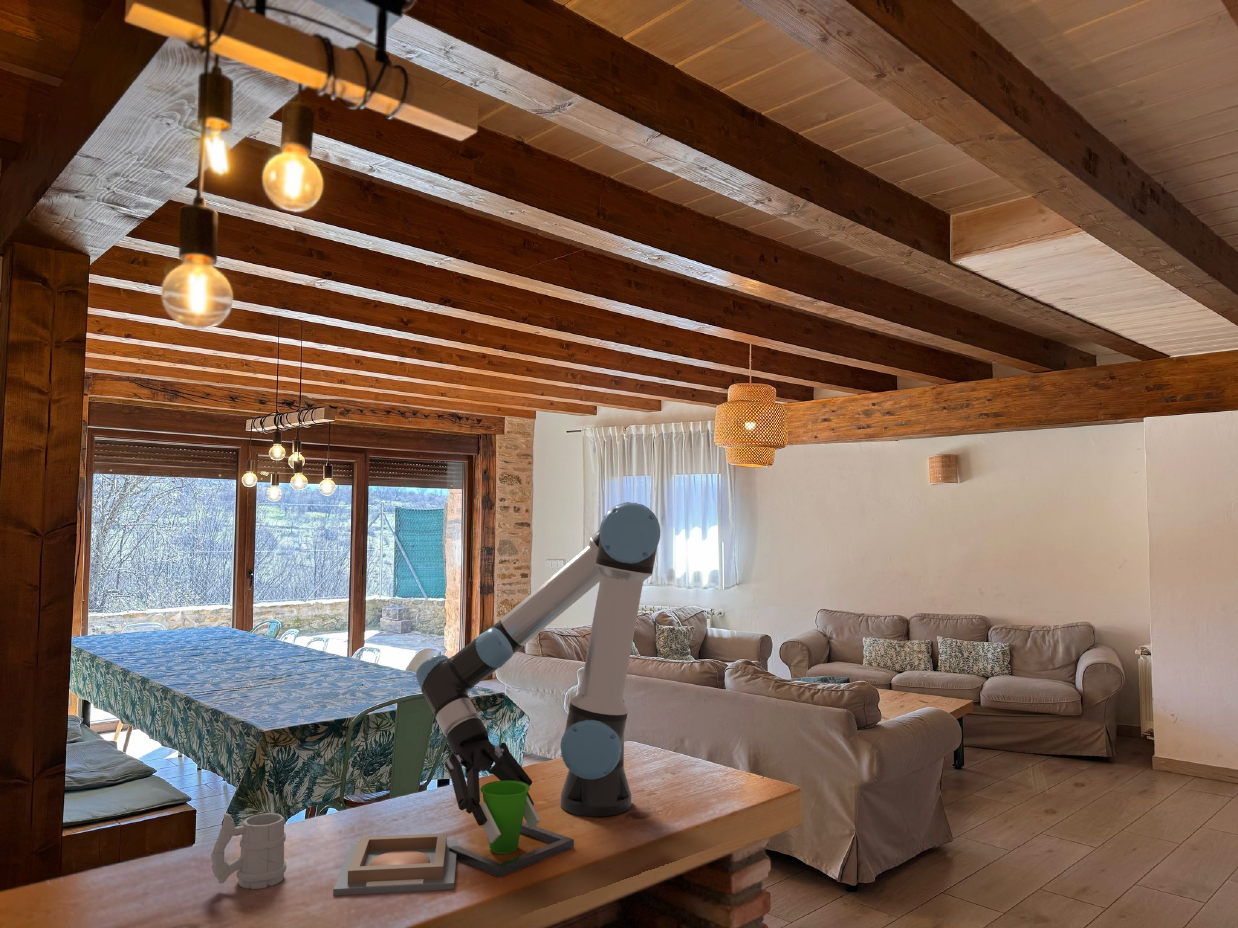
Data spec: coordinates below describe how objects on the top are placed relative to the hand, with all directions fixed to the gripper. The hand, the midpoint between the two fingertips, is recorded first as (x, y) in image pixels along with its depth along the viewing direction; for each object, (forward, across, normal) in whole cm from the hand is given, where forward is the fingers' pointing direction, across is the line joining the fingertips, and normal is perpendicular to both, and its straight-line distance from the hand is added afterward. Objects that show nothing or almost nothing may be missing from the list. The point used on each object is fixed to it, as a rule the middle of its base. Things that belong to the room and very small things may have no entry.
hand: (516, 831), depth 155 cm
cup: (+1, 0, -5) cm, 5 cm away
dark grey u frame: (+2, 0, -3) cm, 4 cm away
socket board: (-4, +18, -9) cm, 21 cm away
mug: (-13, +39, -19) cm, 45 cm away
